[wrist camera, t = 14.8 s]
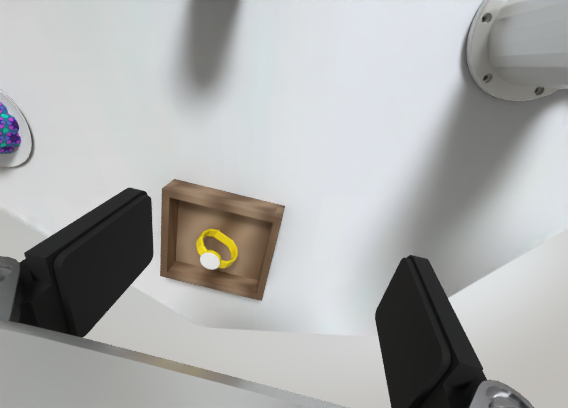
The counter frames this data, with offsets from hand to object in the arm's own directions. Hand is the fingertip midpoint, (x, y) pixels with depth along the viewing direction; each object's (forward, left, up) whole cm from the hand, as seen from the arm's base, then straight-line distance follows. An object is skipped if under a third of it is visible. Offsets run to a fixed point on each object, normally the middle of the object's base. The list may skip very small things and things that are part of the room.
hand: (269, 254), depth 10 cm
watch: (+8, +19, -26) cm, 33 cm away
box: (+8, +19, -27) cm, 34 cm away
